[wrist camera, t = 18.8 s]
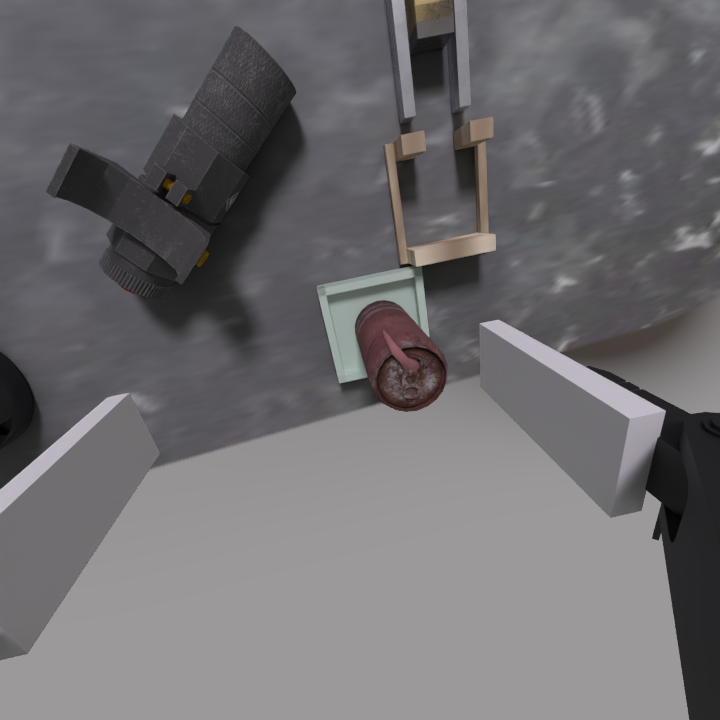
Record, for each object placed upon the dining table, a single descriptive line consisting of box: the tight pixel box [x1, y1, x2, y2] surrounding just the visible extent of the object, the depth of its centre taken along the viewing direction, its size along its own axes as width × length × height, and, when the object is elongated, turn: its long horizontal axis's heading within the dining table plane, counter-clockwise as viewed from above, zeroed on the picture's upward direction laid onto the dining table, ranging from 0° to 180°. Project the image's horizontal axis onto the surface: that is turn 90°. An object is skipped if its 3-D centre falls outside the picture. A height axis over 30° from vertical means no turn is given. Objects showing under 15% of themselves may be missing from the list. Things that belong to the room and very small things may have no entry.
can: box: [355, 300, 447, 412], centre depth 31 cm, size 6×6×14 cm
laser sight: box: [46, 26, 296, 299], centre depth 27 cm, size 10×22×10 cm, turn 140°
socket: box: [384, 117, 496, 267], centre depth 32 cm, size 10×11×4 cm
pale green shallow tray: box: [317, 266, 429, 383], centre depth 37 cm, size 11×11×2 cm
